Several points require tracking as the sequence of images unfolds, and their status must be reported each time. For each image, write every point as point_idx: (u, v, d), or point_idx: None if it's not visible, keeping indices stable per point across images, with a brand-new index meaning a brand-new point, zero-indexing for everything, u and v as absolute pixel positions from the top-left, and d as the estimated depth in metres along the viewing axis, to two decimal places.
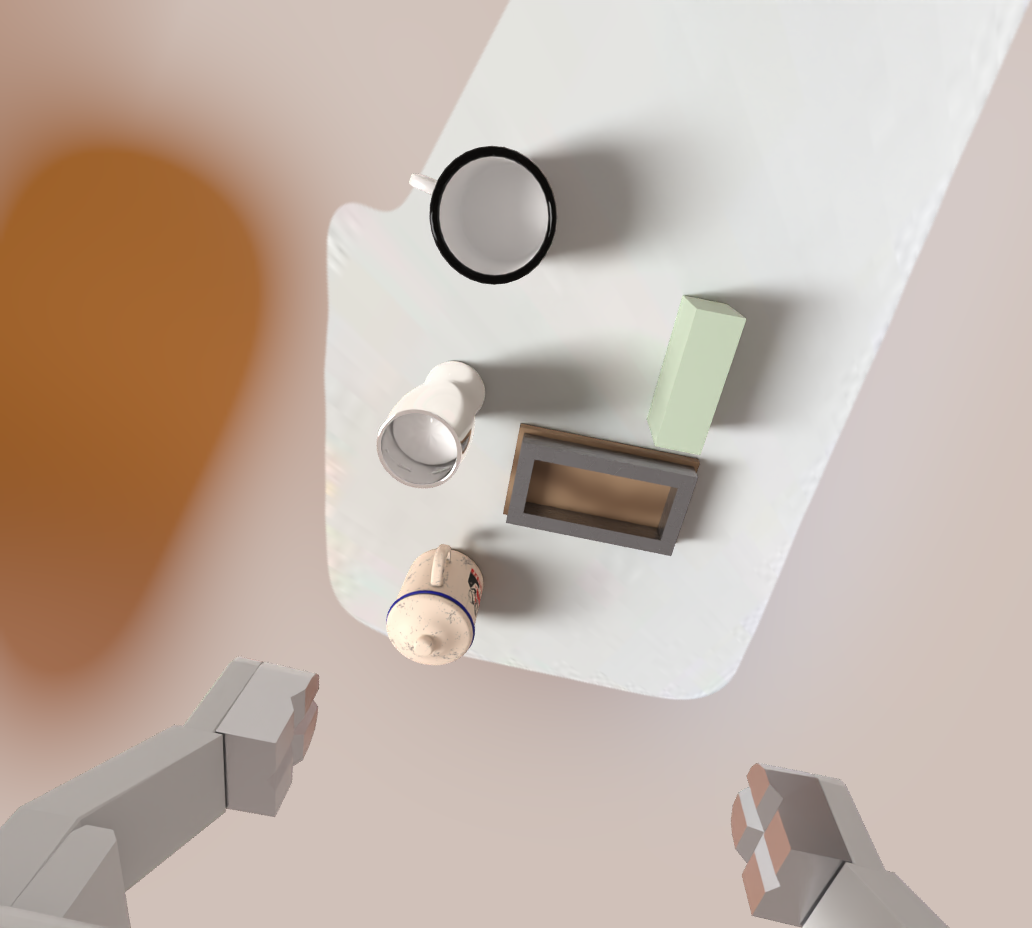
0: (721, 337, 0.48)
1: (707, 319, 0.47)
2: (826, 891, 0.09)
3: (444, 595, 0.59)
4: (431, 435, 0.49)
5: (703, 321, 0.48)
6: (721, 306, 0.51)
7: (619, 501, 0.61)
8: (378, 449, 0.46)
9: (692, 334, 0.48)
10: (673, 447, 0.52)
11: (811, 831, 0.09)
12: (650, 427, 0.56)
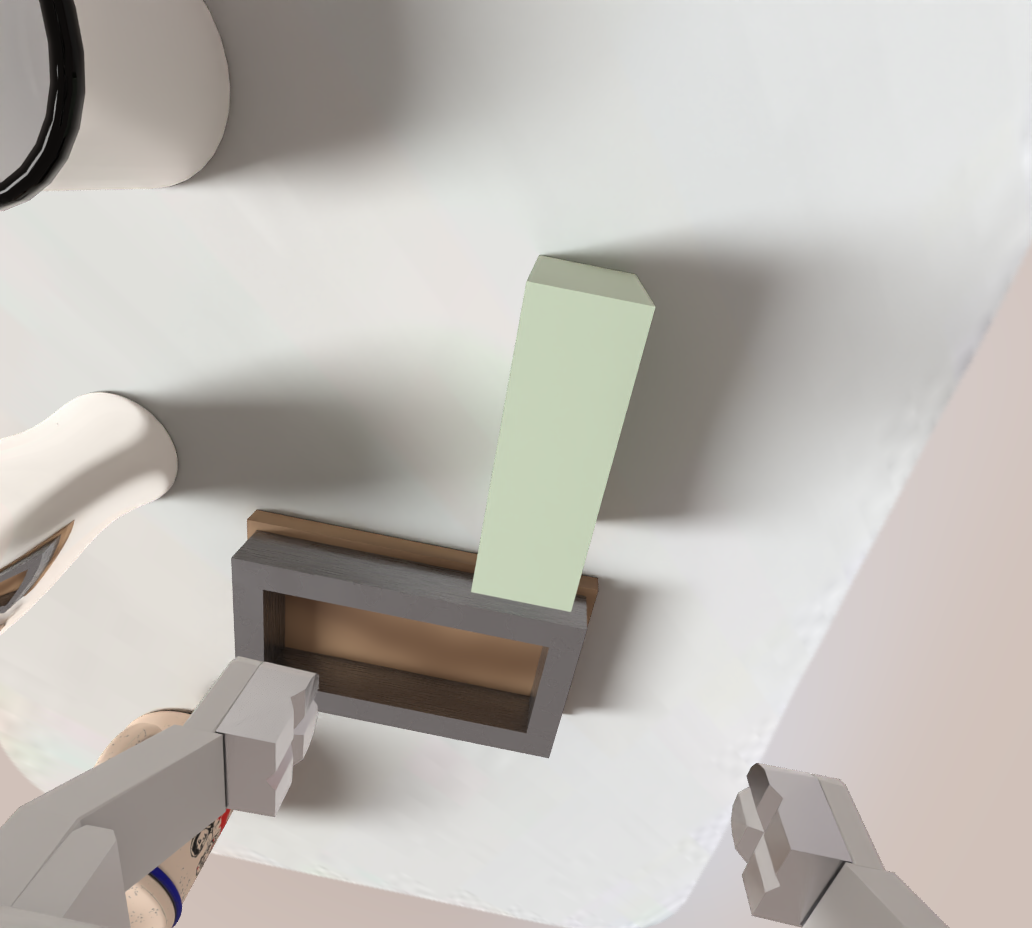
0: (596, 354, 0.19)
1: (556, 308, 0.19)
2: (826, 891, 0.09)
3: None
4: None
5: (546, 314, 0.19)
6: (613, 278, 0.22)
7: (454, 651, 0.33)
8: None
9: (523, 346, 0.19)
10: (511, 596, 0.23)
11: (811, 831, 0.09)
12: None
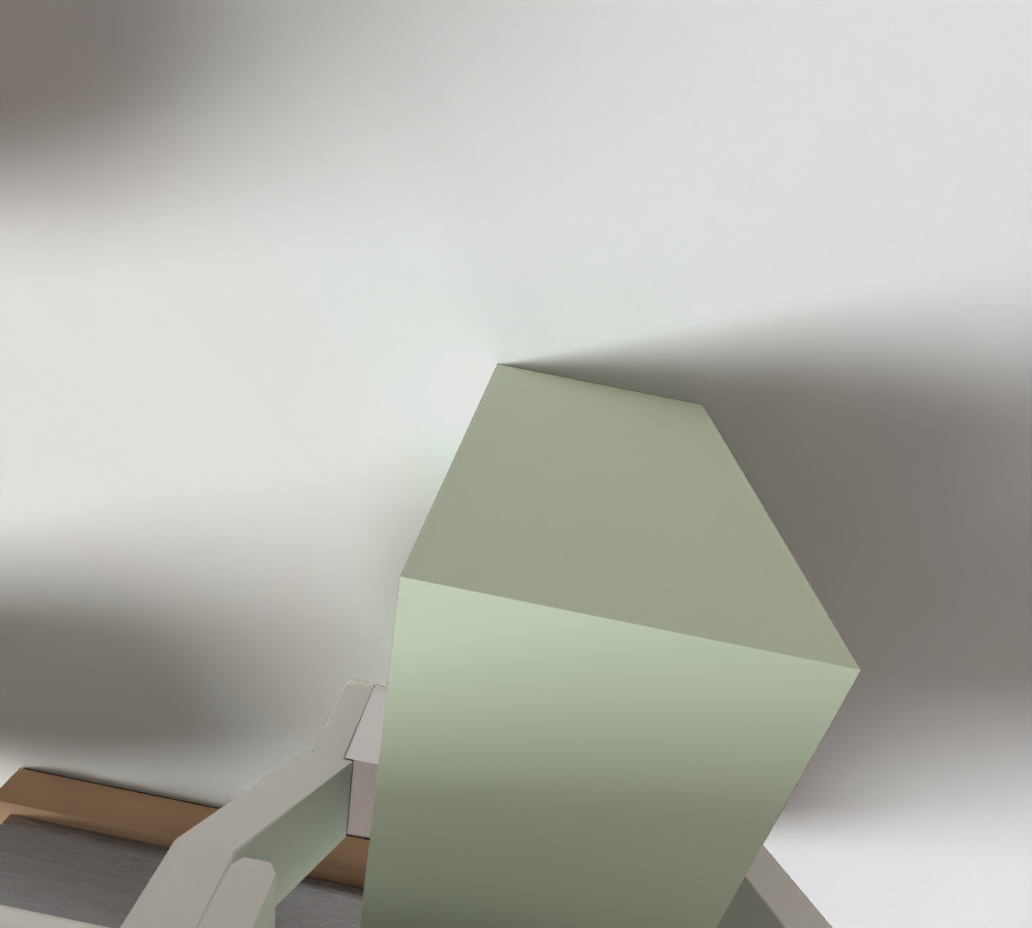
0: (644, 778, 0.06)
1: (510, 657, 0.05)
2: None
3: None
4: None
5: (476, 669, 0.05)
6: (668, 447, 0.09)
7: None
8: None
9: (406, 745, 0.06)
10: None
11: None
12: None
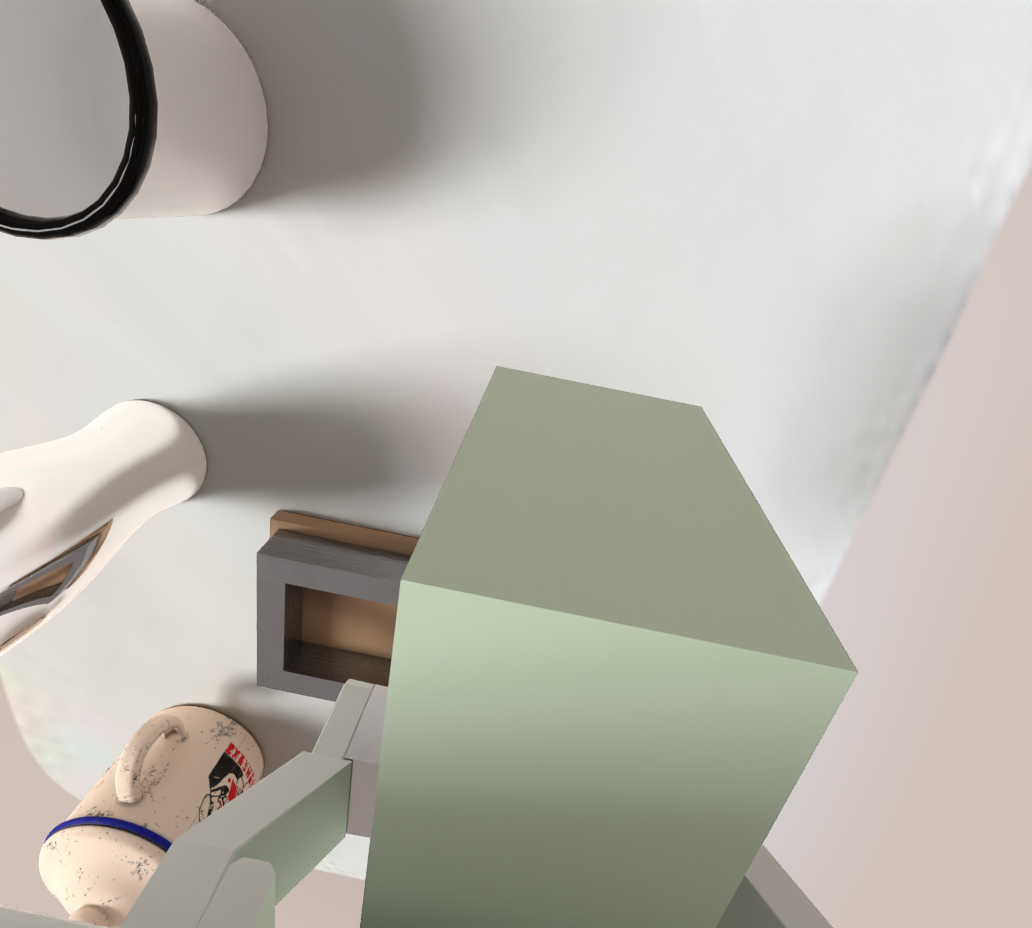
0: (643, 780, 0.06)
1: (510, 659, 0.05)
2: None
3: (130, 827, 0.32)
4: None
5: (476, 671, 0.06)
6: (667, 449, 0.09)
7: None
8: None
9: (408, 747, 0.06)
10: None
11: None
12: None
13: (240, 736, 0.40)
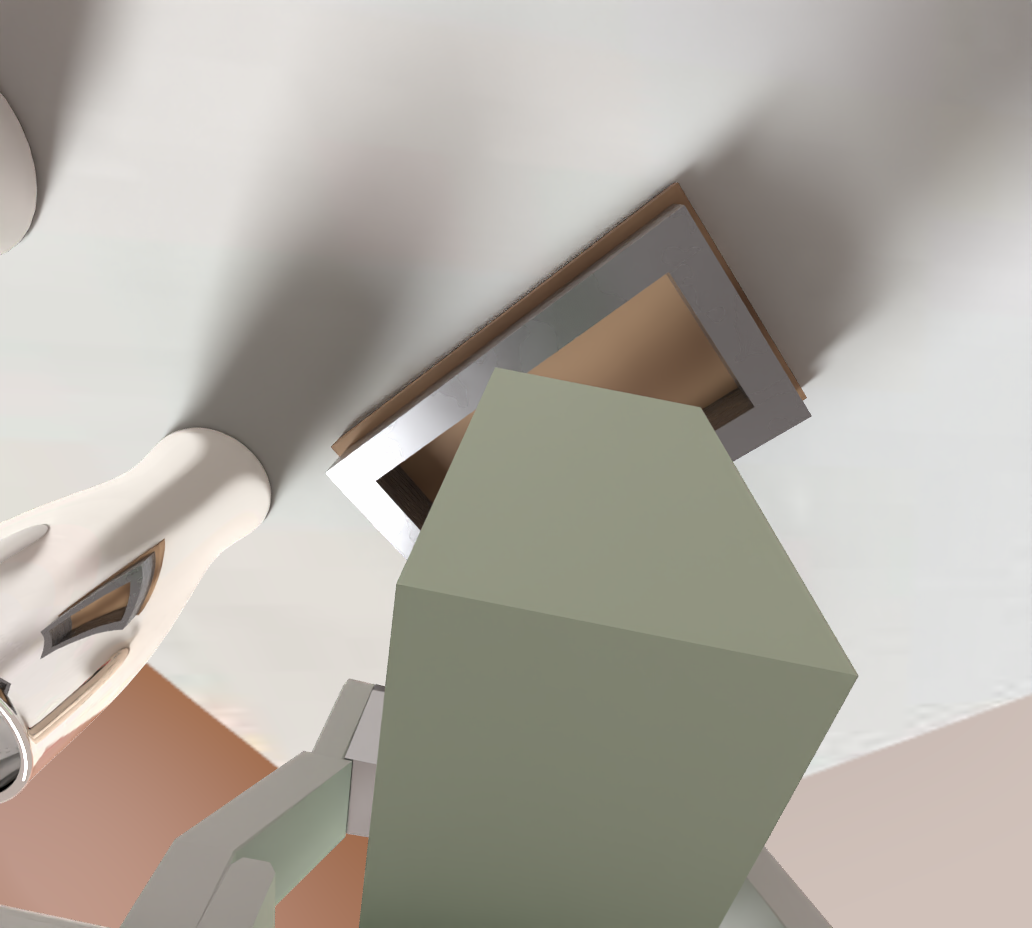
0: (641, 784, 0.06)
1: (507, 664, 0.05)
2: None
3: None
4: None
5: (474, 676, 0.05)
6: (666, 450, 0.09)
7: None
8: None
9: (404, 752, 0.06)
10: None
11: None
12: None
13: None
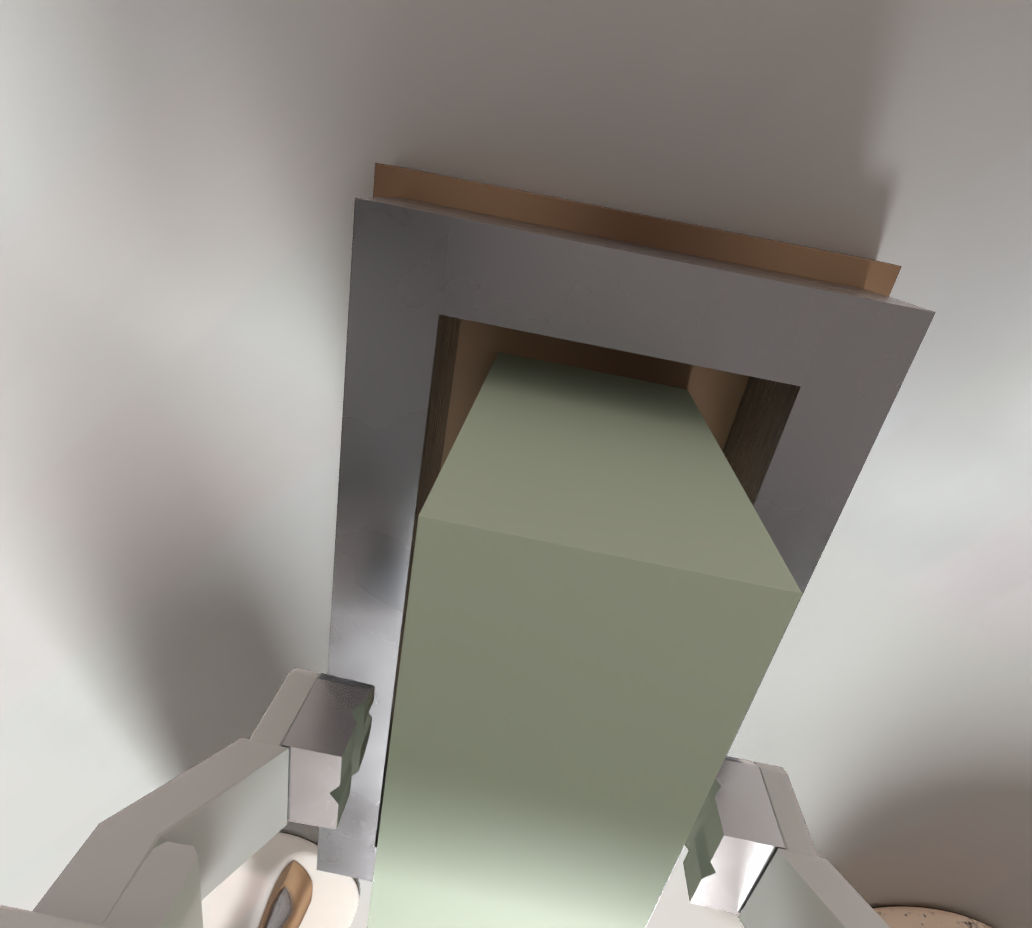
0: (624, 694, 0.07)
1: (510, 586, 0.06)
2: (761, 877, 0.09)
3: None
4: None
5: (481, 596, 0.07)
6: (652, 423, 0.10)
7: None
8: None
9: (422, 667, 0.07)
10: None
11: (746, 818, 0.09)
12: None
13: None
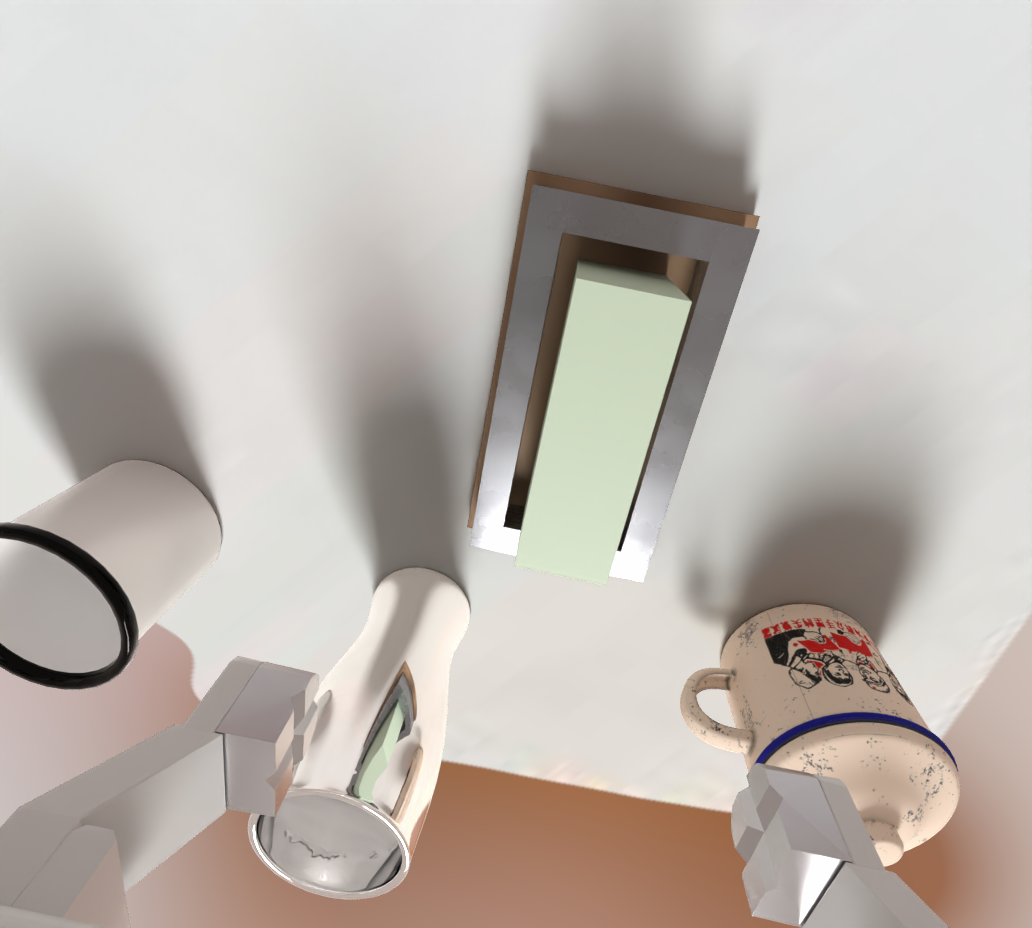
0: (637, 345, 0.21)
1: (602, 303, 0.21)
2: (826, 891, 0.09)
3: (765, 754, 0.28)
4: None
5: (593, 307, 0.21)
6: (649, 278, 0.24)
7: None
8: (339, 897, 0.25)
9: (570, 337, 0.21)
10: (550, 570, 0.25)
11: (811, 831, 0.09)
12: (523, 515, 0.29)
13: (763, 618, 0.34)
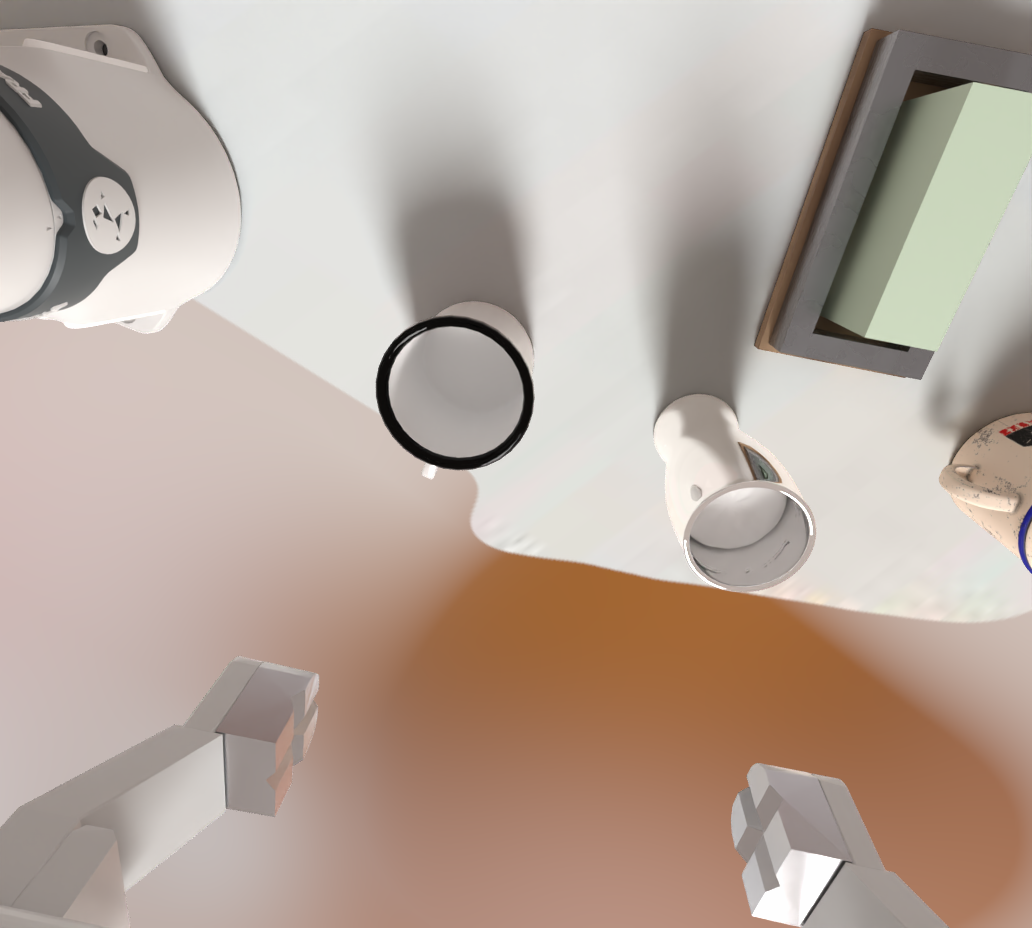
0: (1009, 136, 0.28)
1: (989, 102, 0.28)
2: (826, 890, 0.09)
3: None
4: (737, 501, 0.34)
5: (981, 106, 0.28)
6: None
7: None
8: (740, 590, 0.32)
9: (957, 132, 0.28)
10: (894, 339, 0.33)
11: (811, 831, 0.09)
12: (836, 319, 0.36)
13: (996, 425, 0.41)
